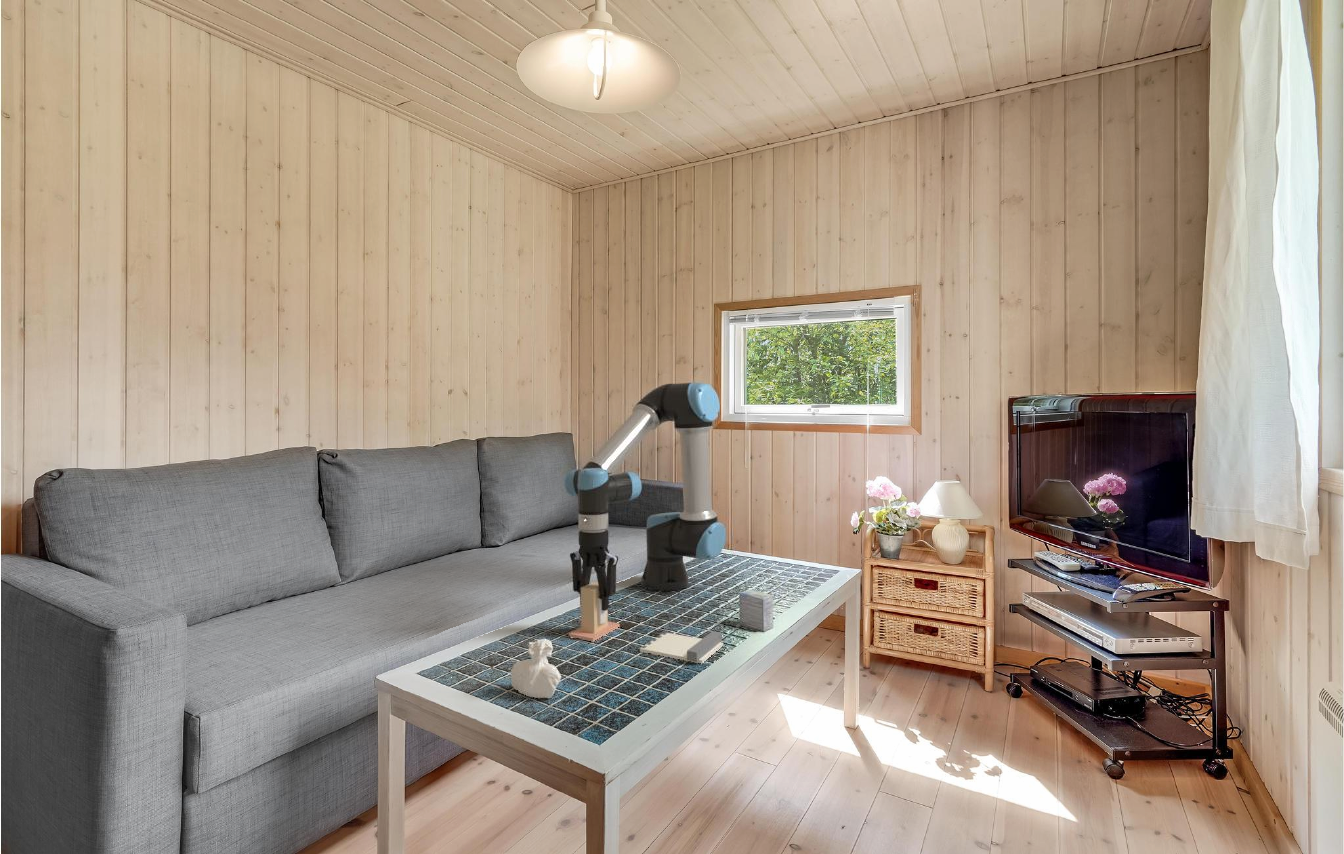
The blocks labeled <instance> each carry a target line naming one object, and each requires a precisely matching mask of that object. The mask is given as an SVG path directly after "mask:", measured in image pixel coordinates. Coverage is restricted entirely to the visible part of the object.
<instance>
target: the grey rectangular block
mask: <svg viewBox="0 0 1344 854" xmlns="http://www.w3.org/2000/svg"><path fill="white" fill-rule="evenodd" d="M738 595H739V596H738V597H739V598H738V599H739V601H738V602H739V603H738V604H739V607H738V611H739V614H738V615H739V616H738V617H739V625H740V626H741V627H746V628H749V629H753V630H756V631H757V630H758V631H761V632H766V630H767V631H768V630H770V629H773V628H774V599H773V598H774V596H773V595H772V594H769V593H766V592H762V591H761V592H760V591H757V590H751V589H747V590H745V591H741V592H740V593H739V594H738Z"/></svg>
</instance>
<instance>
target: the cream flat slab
mask: <svg viewBox="0 0 1344 854" xmlns="http://www.w3.org/2000/svg"><path fill="white" fill-rule="evenodd" d="M722 641H723V633H722V632H720V631H714V630H712V631H711V632H709V633H708V634H707V635H706V636H705V637H703V638H700V637H699V638H698V637H694V636H686V635H682V634H676V633H671V632H665V631H664V632H663V633H661V634H660V635H658V636H657V637H655V638H653V639H652V640H650V641H649V642H647V643H645V645H642V646H641V647H640V648H639V652H640V653H643V652H644V653H643V654H648V653H651V654H650V655H654V656H658V655H660V656H659V657H663V656H664V658H668V657H670V659H673V658H674V660H678V659H680V660H679V661H683V660H684V661H683V662H688V661H691V662H690V663H693V662H694V664H698V663H701V664H700V665H702V663H704V661H706V660H707V659H708V658H709V657H711V655H713V654H714V653H715V652H716V651H718V650H719V649H720V648H721V647H722V646H723V647H724V642H722ZM720 650H721V649H720ZM720 650H719V651H720ZM719 651H718V652H719ZM714 655H715V654H714ZM714 655H713V656H714ZM711 658H712V657H711ZM707 661H708V660H707ZM707 661H706V662H707ZM704 664H705V663H704Z"/></svg>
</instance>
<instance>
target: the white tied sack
mask: <svg viewBox="0 0 1344 854" xmlns="http://www.w3.org/2000/svg"><path fill="white" fill-rule="evenodd" d="M536 640H537V641H535V640H534V641H535V642H533V641H532V642H531V641H528V643H527V644H529V645H528V646H527V647H528V650H527V654H528V655H529V656H530V658H531V659H528V658H527V659H523V660H519V661H517V662H516V663H514V664H513V665H512V669H510V670H511V671H510V674H511V675H510V678H509V679H510V684H511V687H512V688H513V689H514V690H515V691H517V690H518V692H519V694H520V693H523V694H524V695H523V696H525V695H526V697H530V698H533V697H538V699H549V698H552V697H553V696H554V693H555V692H556V688H557V687H558V685H559V684H560V682H561V679H562V675H561V674H560V671H559V670H558V668H557V667H556V666H555V665H554V664H552V663H551V664H550V663H549V661H548V656H549V657H552V653H553V650H554V648H553V645H552V641H551V640H550V639H546V638H542V639H536Z"/></svg>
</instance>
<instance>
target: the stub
mask: <svg viewBox="0 0 1344 854" xmlns="http://www.w3.org/2000/svg"><path fill="white" fill-rule="evenodd" d="M599 597H600V591H599V585H598V581H593V582H591V583H589V584H588V585H586V586H583V587H581V606H580V621H581V622H580V627H578V628H577V629H575V630H572V631H571V632H569V633H568V637H569V636H570V637H573V638H579V639H582V640H581V641H583V640H588V641H591V642H590V643H595V642H596V641H598V640H600V639H602V638H603V637H605V636H606V634H607V635H609V634H610V633H612V632H614V631H616V630H617V629H619V628H621V627H620V623H618V622H614V621H609V612H608V611H609V609H608V610H606V615H607V621H606V622H604V623H602V624H598V598H599ZM618 627H619V628H618ZM615 629H616V630H615ZM613 630H614V631H613ZM609 632H610V633H609ZM608 633H609V634H608ZM602 636H603V637H602ZM601 637H602V638H601ZM573 638H572V639H573ZM599 638H600V639H599ZM597 639H598V640H597ZM595 640H596V641H595ZM588 641H587V642H588ZM594 641H595V642H594Z"/></svg>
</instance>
